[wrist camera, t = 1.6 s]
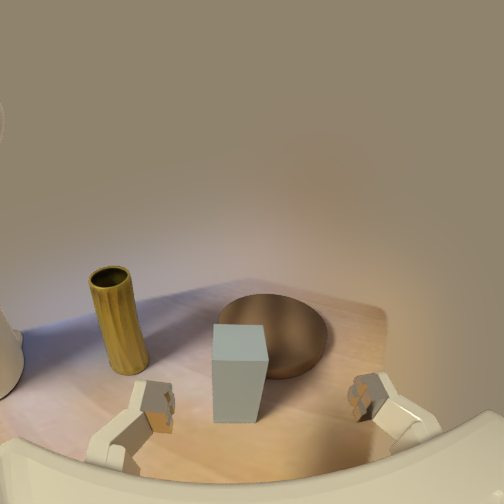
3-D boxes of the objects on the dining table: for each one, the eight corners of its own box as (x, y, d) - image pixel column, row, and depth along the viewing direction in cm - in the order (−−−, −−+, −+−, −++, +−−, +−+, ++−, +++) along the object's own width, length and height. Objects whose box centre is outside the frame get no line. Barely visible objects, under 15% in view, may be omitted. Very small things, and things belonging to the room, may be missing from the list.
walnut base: (207, 370, 35) (207, 356, 34) (227, 301, 51) (228, 288, 49) (327, 382, 34) (333, 369, 33) (317, 312, 50) (321, 299, 49)
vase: (152, 347, 38) (139, 264, 32) (145, 378, 32) (125, 292, 26) (115, 344, 37) (95, 262, 31) (105, 373, 31) (76, 288, 25)
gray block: (213, 422, 28) (212, 360, 22) (214, 391, 32) (213, 323, 27) (255, 423, 28) (268, 360, 23) (252, 391, 33) (262, 325, 28)
